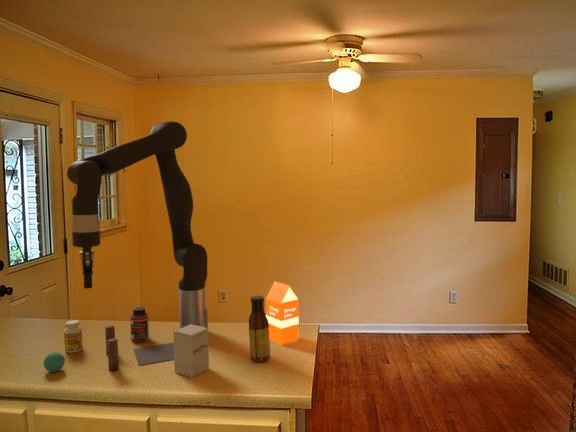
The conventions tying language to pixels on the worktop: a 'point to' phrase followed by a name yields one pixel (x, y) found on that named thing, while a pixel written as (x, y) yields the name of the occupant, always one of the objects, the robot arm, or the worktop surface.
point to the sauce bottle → (259, 331)
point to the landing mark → (154, 354)
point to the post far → (109, 334)
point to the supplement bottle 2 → (139, 325)
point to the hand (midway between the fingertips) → (88, 287)
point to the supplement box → (191, 350)
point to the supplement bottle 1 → (73, 337)
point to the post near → (113, 355)
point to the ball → (54, 362)
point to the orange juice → (282, 313)
